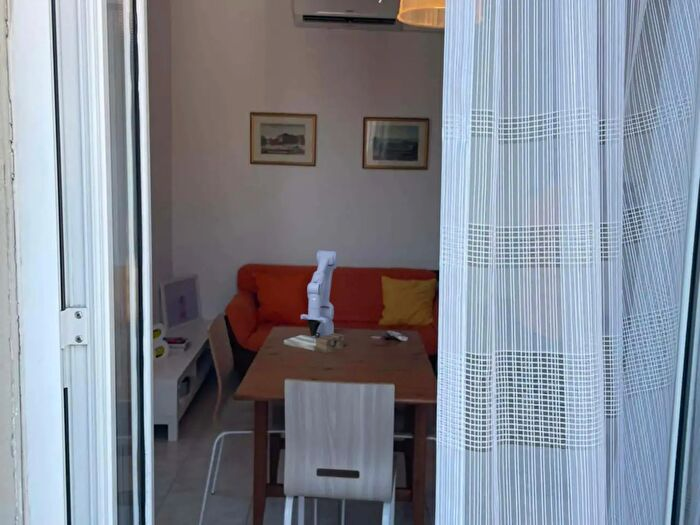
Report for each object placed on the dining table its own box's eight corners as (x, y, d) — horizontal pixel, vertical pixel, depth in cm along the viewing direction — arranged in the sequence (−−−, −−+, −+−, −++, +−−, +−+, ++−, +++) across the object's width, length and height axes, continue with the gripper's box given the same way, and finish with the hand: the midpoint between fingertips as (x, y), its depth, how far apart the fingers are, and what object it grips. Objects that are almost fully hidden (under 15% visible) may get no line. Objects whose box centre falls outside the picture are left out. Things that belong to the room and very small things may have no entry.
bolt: (317, 341, 289) (317, 332, 288) (334, 344, 283) (334, 335, 283) (313, 342, 286) (313, 333, 286) (330, 345, 281) (331, 336, 280)
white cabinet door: (302, 338, 301) (302, 326, 300) (343, 347, 287) (343, 335, 287) (283, 344, 289) (284, 331, 289) (326, 353, 276) (326, 340, 275)
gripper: (297, 306, 287) (296, 334, 289) (321, 310, 279) (320, 339, 281) (306, 304, 293) (305, 332, 294) (330, 308, 285) (329, 336, 287)
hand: (313, 335), depth 288 cm, fingers closed
